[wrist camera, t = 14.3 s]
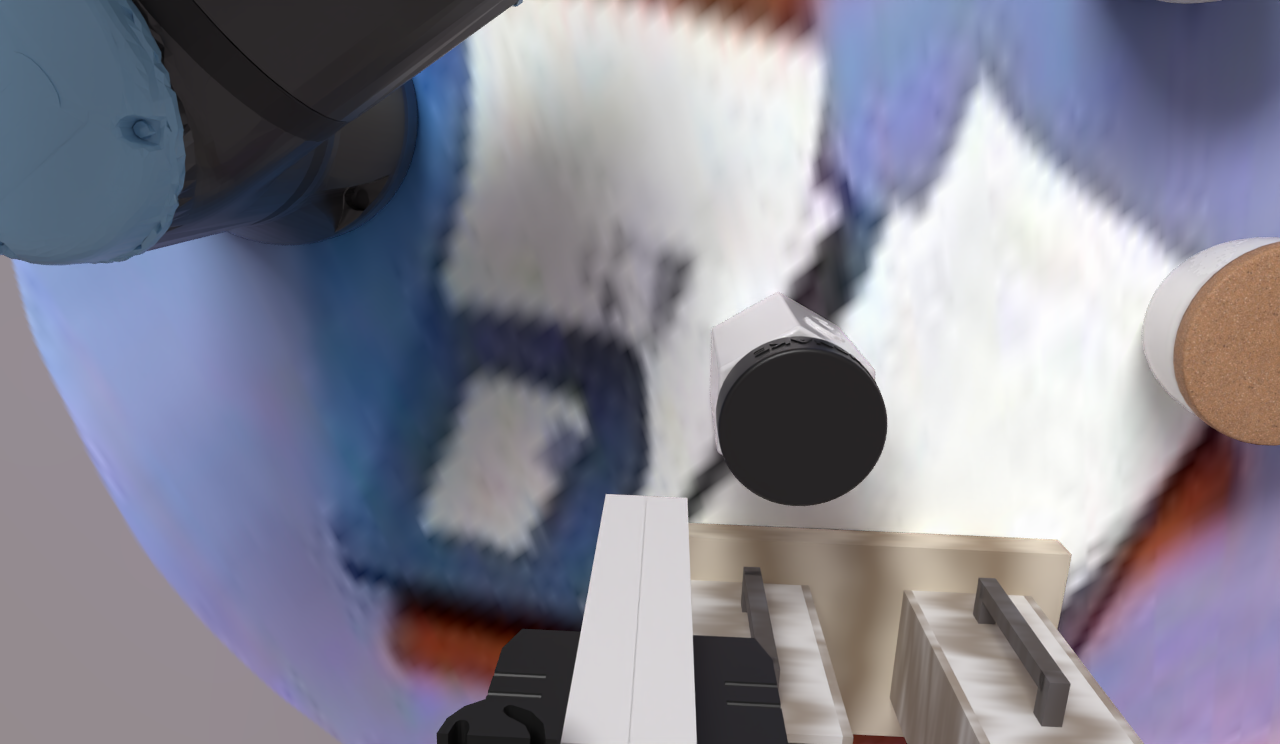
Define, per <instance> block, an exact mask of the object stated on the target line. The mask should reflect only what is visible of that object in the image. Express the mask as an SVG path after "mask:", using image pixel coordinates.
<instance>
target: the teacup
mask: <svg viewBox="0 0 1280 744" xmlns="http://www.w3.org/2000/svg"><path fill="white" fill-rule="evenodd" d="M1158 1H1164V2H1170V3H1186V4H1188V3H1203V2H1212V1H1220V0H1158Z"/></svg>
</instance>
